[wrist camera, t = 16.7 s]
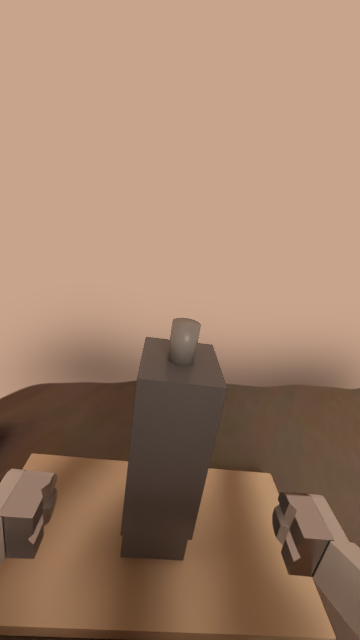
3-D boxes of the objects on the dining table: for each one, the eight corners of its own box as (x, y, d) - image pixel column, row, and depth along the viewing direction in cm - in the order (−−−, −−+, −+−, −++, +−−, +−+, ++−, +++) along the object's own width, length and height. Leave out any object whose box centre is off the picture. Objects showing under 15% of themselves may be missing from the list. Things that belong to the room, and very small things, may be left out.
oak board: (268, 480, 24) (270, 473, 24) (331, 646, 15) (336, 638, 14) (32, 461, 22) (31, 453, 22) (-69, 632, 13) (-71, 623, 13)
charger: (182, 495, 21) (218, 313, 16) (185, 568, 16) (236, 347, 12) (128, 491, 20) (149, 304, 16) (117, 564, 16) (141, 336, 11)
